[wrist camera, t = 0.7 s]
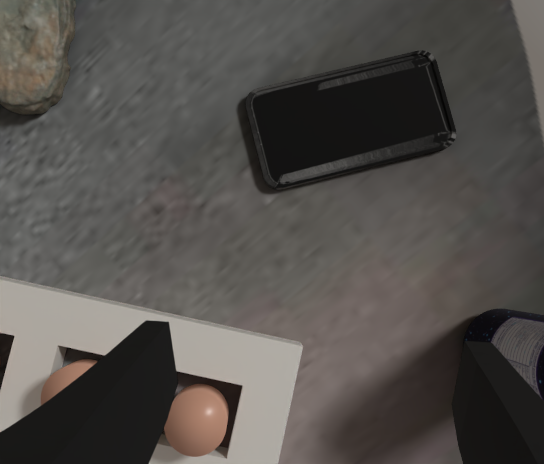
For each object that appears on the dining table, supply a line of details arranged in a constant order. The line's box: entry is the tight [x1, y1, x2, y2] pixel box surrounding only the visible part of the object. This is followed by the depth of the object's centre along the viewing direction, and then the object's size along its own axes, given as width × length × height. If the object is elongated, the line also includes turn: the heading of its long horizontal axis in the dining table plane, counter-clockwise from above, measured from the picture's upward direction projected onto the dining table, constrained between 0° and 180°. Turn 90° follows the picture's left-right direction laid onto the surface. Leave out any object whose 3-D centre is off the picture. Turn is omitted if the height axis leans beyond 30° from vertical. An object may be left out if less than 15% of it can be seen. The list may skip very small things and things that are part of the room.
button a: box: [164, 384, 229, 457], centre depth 33 cm, size 4×4×2 cm
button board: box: [0, 276, 303, 464], centre depth 35 cm, size 28×12×2 cm, turn 78°
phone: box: [246, 50, 456, 190], centre depth 38 cm, size 8×1×15 cm
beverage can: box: [463, 309, 544, 400], centre depth 31 cm, size 6×6×12 cm
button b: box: [41, 359, 98, 405], centre depth 33 cm, size 4×4×2 cm
